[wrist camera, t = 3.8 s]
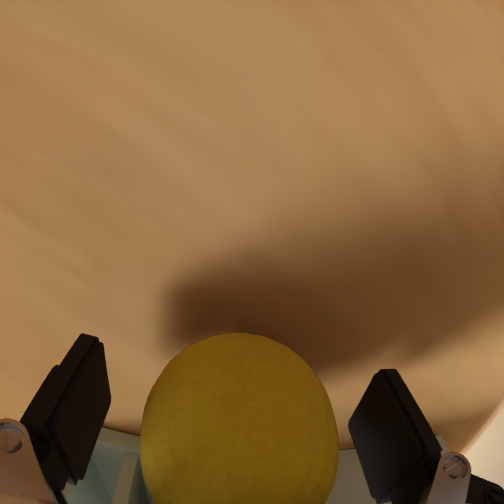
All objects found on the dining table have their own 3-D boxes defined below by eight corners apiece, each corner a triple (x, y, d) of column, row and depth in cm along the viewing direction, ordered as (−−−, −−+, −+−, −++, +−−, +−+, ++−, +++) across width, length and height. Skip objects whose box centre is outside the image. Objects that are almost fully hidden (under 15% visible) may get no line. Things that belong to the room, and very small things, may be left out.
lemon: (336, 340, 12) (413, 523, 4) (246, 415, 13) (255, 575, 5) (224, 257, 10) (207, 505, 3) (141, 356, 11) (84, 537, 4)
